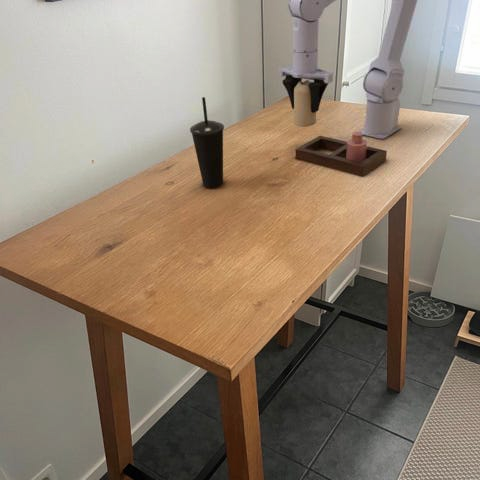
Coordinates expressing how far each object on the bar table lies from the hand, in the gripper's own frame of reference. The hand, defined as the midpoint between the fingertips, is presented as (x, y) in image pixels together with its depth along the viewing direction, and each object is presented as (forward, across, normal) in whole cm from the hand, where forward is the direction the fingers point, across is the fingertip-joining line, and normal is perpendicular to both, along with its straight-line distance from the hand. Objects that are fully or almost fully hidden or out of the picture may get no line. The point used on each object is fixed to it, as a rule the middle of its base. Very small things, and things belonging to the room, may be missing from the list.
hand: (304, 109), depth 127 cm
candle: (+4, 0, 0) cm, 4 cm away
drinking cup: (+11, -6, -28) cm, 31 cm away
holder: (+10, +11, -1) cm, 15 cm away
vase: (+10, +16, -1) cm, 19 cm away
